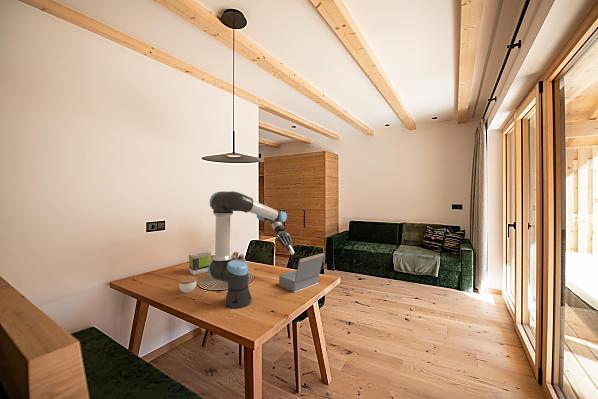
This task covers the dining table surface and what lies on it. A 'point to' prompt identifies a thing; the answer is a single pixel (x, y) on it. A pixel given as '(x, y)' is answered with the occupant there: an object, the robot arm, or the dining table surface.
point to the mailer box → (290, 284)
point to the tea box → (199, 262)
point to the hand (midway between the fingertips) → (293, 253)
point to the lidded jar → (187, 284)
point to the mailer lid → (309, 267)
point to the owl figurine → (235, 257)
